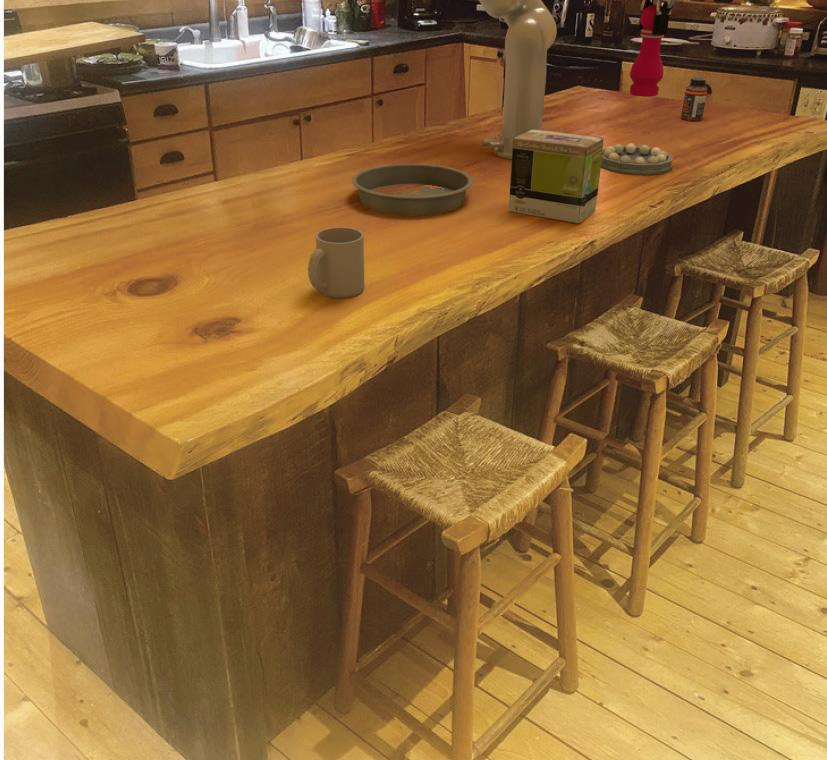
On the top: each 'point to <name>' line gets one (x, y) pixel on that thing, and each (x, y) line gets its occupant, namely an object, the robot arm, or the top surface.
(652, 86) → the pepper mill
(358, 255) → the cup
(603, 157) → the bead tray
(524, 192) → the tea box
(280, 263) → the top surface
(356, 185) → the cake pan
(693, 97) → the supplement bottle
